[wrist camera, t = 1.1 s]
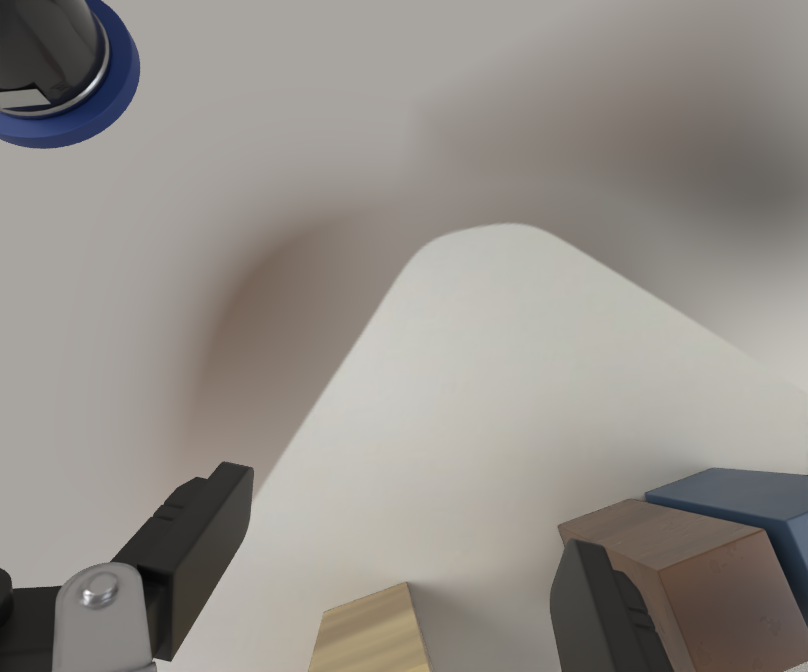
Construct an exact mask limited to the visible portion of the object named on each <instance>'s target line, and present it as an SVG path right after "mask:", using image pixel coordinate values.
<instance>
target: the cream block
mask: <svg viewBox="0 0 808 672" xmlns="http://www.w3.org/2000/svg"><path fill="white" fill-rule="evenodd" d="M308 672H434V671H433V668H432V665H431V662H430V658H429V655H428V652H427V648H426V645H425V642H424V638H423V635H422V632H421V629H420V625H419V622H418V619H417V615H416V612H415V609H414V605H413V602H412V599H411V596H410V592H409V589H408V586H407V583H406V582H404V583H401V584H398V585H396V586H393V587H390V588H388V589H385V590H382V591H380V592H377V593H374V594H371V595H369V596H366V597H363V598H361V599H358V600H355V601H353V602H350V603H347V604H345V605H342V606H339V607H336V608H334V609H331V610H328V611H326V612H324V613H323V617H322V621H321V624H320V628H319V632H318V636H317V640H316V644H315V647H314V651H313V655H312V659H311V663H310V666H309V670H308Z"/></svg>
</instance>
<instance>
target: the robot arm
mask: <svg viewBox="0 0 808 672" xmlns="http://www.w3.org/2000/svg"><path fill="white" fill-rule="evenodd" d="M111 64H112V45H111V41H110V38H109V35H108V33H107V31H106V30H105V28H104V26H103V25H102V23H101V22H100V20H99V19H98V17H97V16H96V15H95V14H94V13H93V11H92V10H91V9H90V7H89V6H88V4H87V3H86V1H85V0H0V113H1V114H3V115H6V116H9V117H13V118H17V119H24V120H41V119H49V118H54V117H57V116H61V115H64V114H66V113H69V112H71V111H73V110H75V109H77V108H79V107H80V106H82V105H83V104H85V103H86V102H87V101H89V100H90V99H91V98H92V97H93V96H94V95H95V94H96V93H97V92H98V91H99V90H100V88H101V87H102V85H103V84H104V82H105V81H106V79H107V77H108V74H109V72H110V68H111ZM253 478H254V470H253V468H252V467H248V466H243V465H239V464H234V463H229V462H222V463H221V464H220V465H219V466H218V467H217V468H216V470H215V471H214V472H213V473H212V474H211V476H210V477H209V478H208V479H204V478H200V477H195V478H194V479H192V480H190V481H188V482H187V483H185V484H183V485H181V486H179V487H178V488H176V490H175V491H174V492H173V493H172V494H171V495H170V496H169V498H167V500H166V501H165V502H164V505H161V506H160V507H159V508H158V510H157V511H156V512H155V513H154V515H153V517H150V518H149V519H148V521H147V522H146V523H145V524H144V525H143V526H142V527H141V528H140V530H138V532H137V533H136V534H135V535H134V536H133V537H132V538H131V539H130V540H129V541H128V543H127V544H126V545H125V546H124V547H123V548H122V549H121V550H120V551H119V552H118V554H117V555H116V556H115V557H114V558H113V559H112V560H111V561H110V562H109V563H102V564H97V565H94V566H91V567H89V568H86V569H84V570H82V571H80V572H78V573H77V574H75V575H74V576H72V577H71V578H70V579H69V580H68V581H67V582H66V583H65V584H64V585H63V586H54V587H36V588H17V589H12V581H11V577H10V575H9V574H8V573H7V572H6V571H5V570H3V569H1V568H0V672H157V668H156V663H155V662H152V660H153V658H157V659H161V660H165V661H169V662H171V661H172V659H173V658H174V656H175V654H176V652H177V651H178V649H179V647H180V646H181V644H182V642H183V641H184V639H185V637H186V636H187V634H188V632H189V631H190V629H191V627H192V626H193V624H194V622H195V621H196V619H197V617H198V616H199V614H200V612H201V611H202V609H203V607H204V606H205V604H206V602H207V600H208V599H209V597H210V595H211V594H212V592H213V590H214V589H215V587H216V585H217V584H218V582H219V580H220V579H221V577H222V575H223V574H224V572H225V570H226V569H227V567H228V565H229V564H230V562H231V560H232V559H233V557H234V555H235V554H236V552H237V550H238V548H239V547H240V545H241V543H242V542H243V539H244V537H245V535H246V532H247V529H248V525H249V521H250V513H251V501H252V490H253ZM550 614H551V619H552V624H553V629H554V634H555V639H556V644H557V649H558V654H559V659H560V664H561V669H562V672H674V670H673V667H672V665H671V663H670V660H669V658H668V656H667V653H666V651H665V649H664V646H663V644H662V642H661V639H660V637H659V635H658V632H656V631H655V625H654V623H653V621H652V618H651V616H650V615H648V609H647V607H646V604H645V602H644V600H643V597H642V595H641V593H640V591H639V589H638V588H637V587H636V586H635V585H634V583H633V582H632V581H631V580H630V579H629V578H628V576H627V575H626V574H625V573H624V572H622V571H618V570H613V567H612V565H611V562H610V559H609V557H608V554H607V552H606V549H605V547H604V546H603V545H601V544H597V543H593V542H588V541H583V540H579V539H574V538H570V539H569V540H568V542H567V544H566V547H565V550H564V553H563V556H562V558H561V561H560V564H559V567H558V570H557V573H556V576H555V579H554V582H553V585H552V588H551V594H550Z"/></svg>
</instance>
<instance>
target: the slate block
mask: <svg viewBox="0 0 808 672" xmlns="http://www.w3.org/2000/svg"><path fill="white" fill-rule="evenodd" d="M645 496H646V498H647V501H648V503H651V504H655V505H660V506H664V507H669V508H673V509H677V510H682V511H686V512H691V513H695V514H700V515H704V516H708V517H713V518H717V519H722V520H726V521H731V522H735V523H740V524H744V525H748V526H753V527H757V528H762V529H765V531H766V533H767V535H768V538H769V540H770V542H771V545H772V547H773V549H774V552H775V554H776V556H777V559H778V561H779V563H780V566H781V568H782V570H783V572H784V575H785V577H786V579H787V582H788V584H789V586H790V589H791V591H792V593H793V596H794V598H795V600H796V602H797V605H798V607H799V609H800V612H801V614H802V616H803V619H804V621H805V623H806V626H807V628H808V475H798V474H785V473H773V472H761V471H748V470H736V469H723V468H711V469H708V470H706V471H703V472H700V473H698V474H695V475H692V476H689V477H687V478H684V479H681V480H679V481H676V482H673V483H671V484H668V485H665V486H663V487H660V488H657V489H654V490H652V491H649V492H646V493H645Z"/></svg>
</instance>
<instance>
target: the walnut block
mask: <svg viewBox="0 0 808 672" xmlns="http://www.w3.org/2000/svg"><path fill="white" fill-rule="evenodd" d="M558 529H559V532H560V535H561V538H562V540H563V543H564V546H565V547H566V544H567V542H568V540H569V539H570V538H574V539H579V540H583V541H588V542H593V543H597V544H601V545H603V546H604V547H605V549H606V552H607V554H608V557H609V559H610V562H611V565H612V567H613V570H618V571H622V572H624V573H625V574H626V575H627V576H628V578H629V579H630V580H631V581H632V582H633V583H634V585H635V586H636V587H637V588H638V589H639V591H640V593H641V595H642V597H643V600H644V602H645V604H646V607H647V609H648V615H650V616H651V618H652V621H653V623H654V625H655V631H656V632H658V635H659V637H660V639H661V642H662V644H663V646H664V649H665V651H666V653H667V656H668V658H669V660H670V663H671V665H672V667H673V670H674V672H784V671H786V670H788V669H791V668H793V667H795V666H797V665H800V664H802V663H804V662H807V661H808V628H807V626H806V623H805V621H804V619H803V616H802V614H801V612H800V609H799V607H798V605H797V602H796V600H795V598H794V596H793V593H792V591H791V589H790V586H789V584H788V582H787V579H786V577H785V575H784V572H783V570H782V568H781V566H780V563H779V561H778V559H777V556H776V554H775V552H774V549H773V547H772V545H771V542H770V540H769V538H768V535H767V533H766V531H765V529H762V528H757V527H753V526H748V525H744V524H740V523H735V522H731V521H726V520H722V519H717V518H713V517H708V516H704V515H700V514H695V513H691V512H686V511H682V510H677V509H673V508H669V507H664V506H660V505H655V504H651V503H646V502H642V501H638V500H633V499H627V500H625V501H622V502H619V503H617V504H614V505H611V506H609V507H606V508H603V509H601V510H598V511H595V512H592V513H590V514H587V515H584V516H582V517H579V518H576V519H574V520H571V521H568V522H566V523H563V524H560V525H558Z"/></svg>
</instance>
